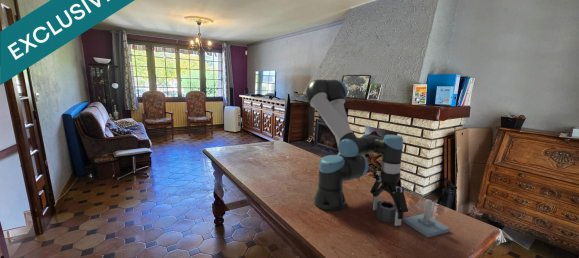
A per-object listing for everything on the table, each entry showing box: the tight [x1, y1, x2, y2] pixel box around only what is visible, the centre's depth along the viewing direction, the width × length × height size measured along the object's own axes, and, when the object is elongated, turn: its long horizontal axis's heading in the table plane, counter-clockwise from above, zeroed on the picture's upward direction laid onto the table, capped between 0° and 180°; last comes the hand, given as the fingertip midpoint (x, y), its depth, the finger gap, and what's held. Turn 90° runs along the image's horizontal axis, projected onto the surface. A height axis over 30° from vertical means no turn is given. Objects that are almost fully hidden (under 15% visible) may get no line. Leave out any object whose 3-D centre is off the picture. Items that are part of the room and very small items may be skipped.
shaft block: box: [403, 199, 451, 238], centre depth 103 cm, size 12×12×12 cm
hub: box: [375, 200, 397, 224], centre depth 109 cm, size 8×8×6 cm
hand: (386, 216), depth 110 cm, fingers open, 13 cm apart
